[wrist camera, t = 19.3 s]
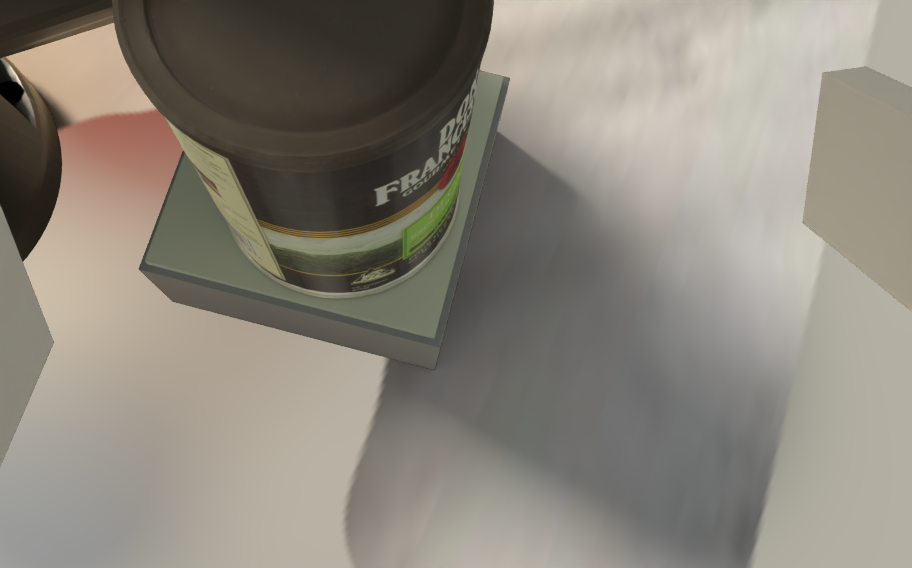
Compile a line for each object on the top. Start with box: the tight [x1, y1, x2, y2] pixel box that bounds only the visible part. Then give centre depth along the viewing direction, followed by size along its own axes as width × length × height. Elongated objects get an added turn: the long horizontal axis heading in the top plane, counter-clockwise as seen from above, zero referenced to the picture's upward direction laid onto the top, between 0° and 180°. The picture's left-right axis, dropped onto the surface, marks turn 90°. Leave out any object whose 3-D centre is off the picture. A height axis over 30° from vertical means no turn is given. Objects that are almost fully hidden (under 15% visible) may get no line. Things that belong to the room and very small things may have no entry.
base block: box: [139, 70, 510, 370], centre depth 40 cm, size 13×13×6 cm
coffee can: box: [112, 0, 494, 298], centre depth 30 cm, size 10×10×14 cm
